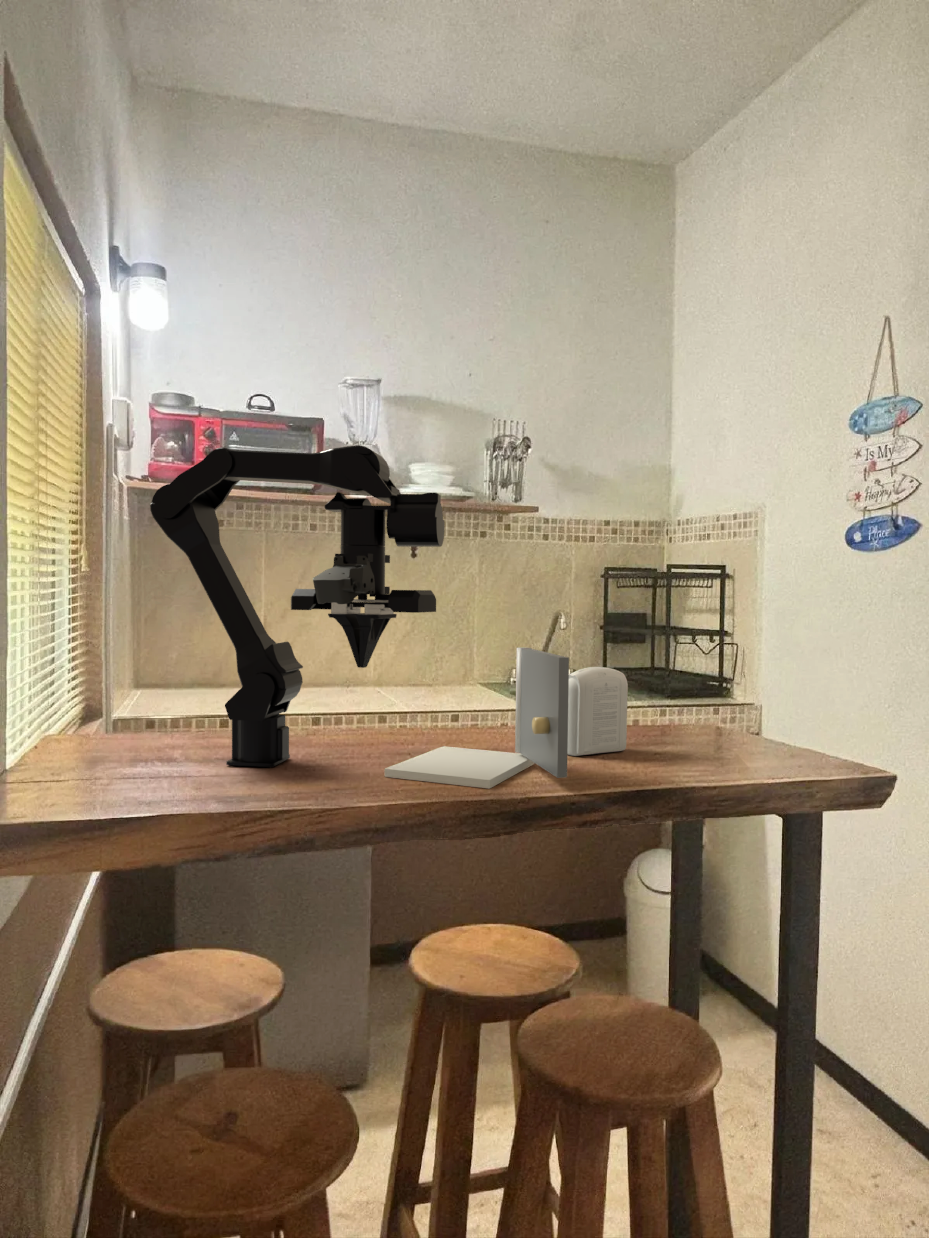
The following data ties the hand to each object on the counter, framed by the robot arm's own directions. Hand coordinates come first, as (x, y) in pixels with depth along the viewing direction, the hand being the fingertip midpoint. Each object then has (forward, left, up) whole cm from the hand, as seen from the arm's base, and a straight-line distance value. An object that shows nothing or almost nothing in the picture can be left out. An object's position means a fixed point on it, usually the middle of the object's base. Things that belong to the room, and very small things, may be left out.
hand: (362, 667), depth 111 cm
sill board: (+13, +2, -13) cm, 19 cm away
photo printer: (+30, +17, -13) cm, 37 cm away
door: (+23, 0, -12) cm, 25 cm away
